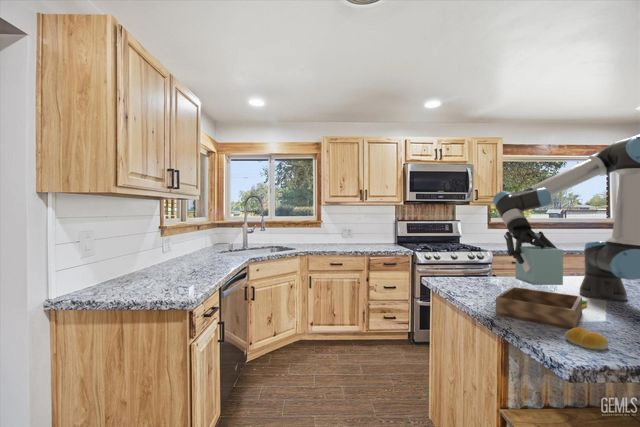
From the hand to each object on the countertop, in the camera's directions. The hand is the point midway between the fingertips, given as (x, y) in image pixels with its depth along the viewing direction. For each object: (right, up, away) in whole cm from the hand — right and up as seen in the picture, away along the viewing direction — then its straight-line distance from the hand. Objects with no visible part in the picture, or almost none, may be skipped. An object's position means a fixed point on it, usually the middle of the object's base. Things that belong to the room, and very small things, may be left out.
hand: (544, 270), depth 111 cm
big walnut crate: (0, -16, +3) cm, 16 cm away
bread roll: (-4, -17, -22) cm, 28 cm away
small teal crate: (0, -4, +3) cm, 5 cm away
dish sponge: (+18, -16, +16) cm, 29 cm away
